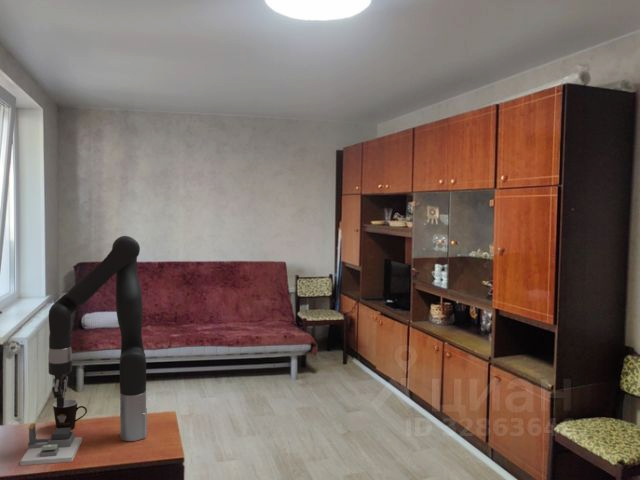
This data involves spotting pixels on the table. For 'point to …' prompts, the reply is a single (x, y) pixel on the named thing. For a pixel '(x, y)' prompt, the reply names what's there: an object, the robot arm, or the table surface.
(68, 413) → the coffee mug
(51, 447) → the rocker switch
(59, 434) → the push button
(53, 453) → the panel
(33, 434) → the paddle slider
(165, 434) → the table surface
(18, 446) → the table surface
